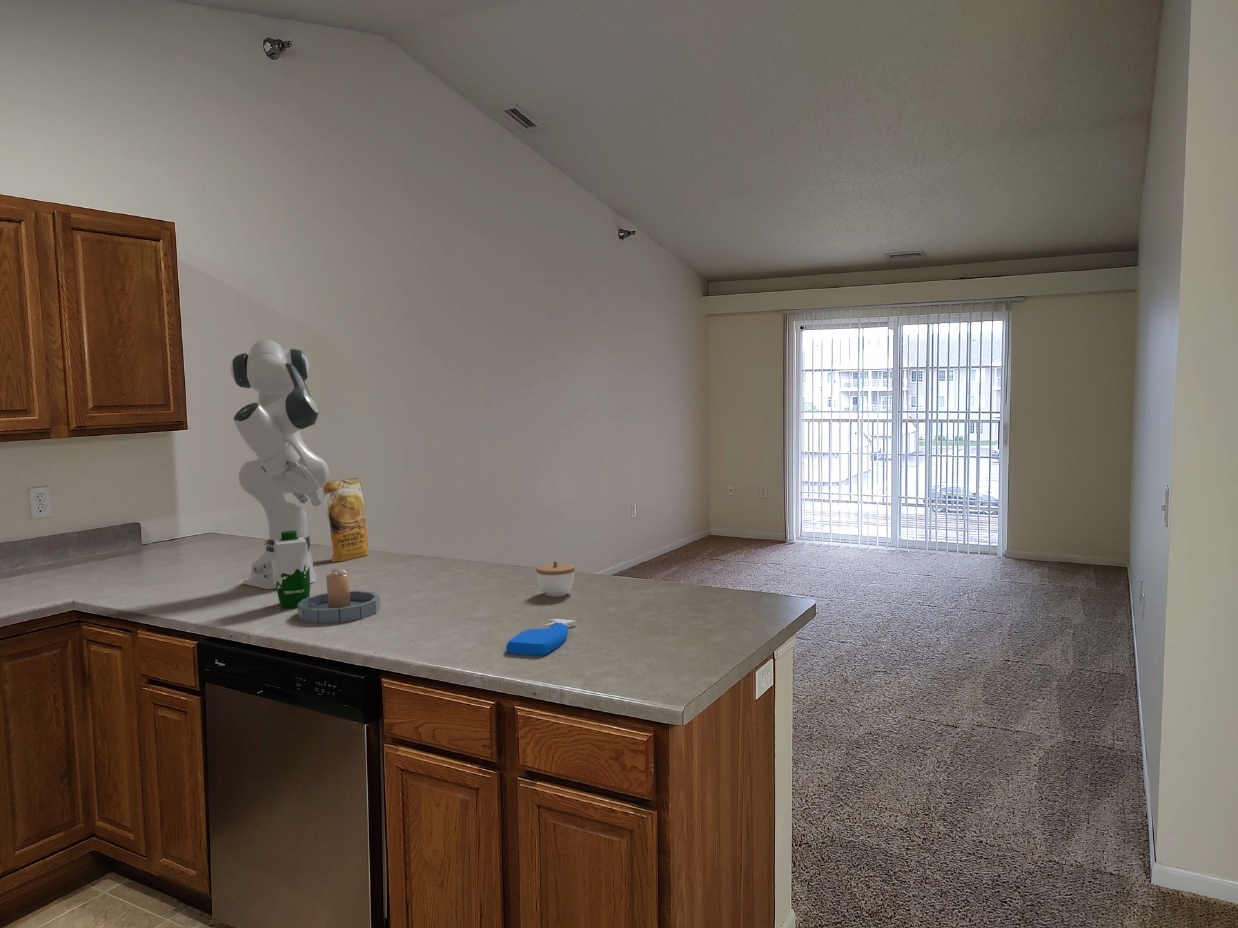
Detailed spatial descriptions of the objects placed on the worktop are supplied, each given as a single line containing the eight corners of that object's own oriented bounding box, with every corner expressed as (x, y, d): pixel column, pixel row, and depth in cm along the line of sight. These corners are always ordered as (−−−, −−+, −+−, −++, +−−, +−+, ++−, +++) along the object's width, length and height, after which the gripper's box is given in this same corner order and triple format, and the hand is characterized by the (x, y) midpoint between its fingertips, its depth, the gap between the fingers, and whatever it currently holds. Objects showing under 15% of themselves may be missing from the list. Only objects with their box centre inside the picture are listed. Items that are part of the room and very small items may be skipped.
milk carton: (308, 598, 238) (304, 529, 236) (313, 605, 230) (308, 533, 228) (275, 603, 234) (271, 532, 232) (279, 610, 226) (274, 537, 224)
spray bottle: (547, 645, 181) (586, 616, 204) (501, 641, 184) (544, 614, 207) (547, 658, 181) (586, 628, 204) (501, 654, 184) (544, 625, 207)
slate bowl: (282, 618, 218) (281, 605, 217) (339, 600, 235) (339, 588, 235) (339, 626, 209) (339, 612, 208) (394, 606, 226) (394, 594, 226)
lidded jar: (551, 588, 243) (550, 556, 242) (582, 591, 238) (581, 559, 237) (529, 596, 234) (528, 563, 233) (561, 600, 229) (560, 566, 228)
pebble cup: (323, 609, 221) (321, 570, 220) (339, 604, 226) (337, 566, 225) (339, 611, 218) (336, 572, 217) (355, 606, 223) (352, 568, 222)
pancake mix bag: (320, 562, 290) (315, 482, 287) (363, 552, 306) (359, 476, 304) (333, 564, 286) (328, 482, 284) (376, 553, 303) (372, 476, 300)
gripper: (306, 455, 212) (336, 499, 217) (278, 453, 227) (307, 493, 233) (285, 470, 208) (316, 514, 214) (258, 466, 224) (288, 507, 229)
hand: (311, 503), depth 223 cm, fingers open, 8 cm apart
